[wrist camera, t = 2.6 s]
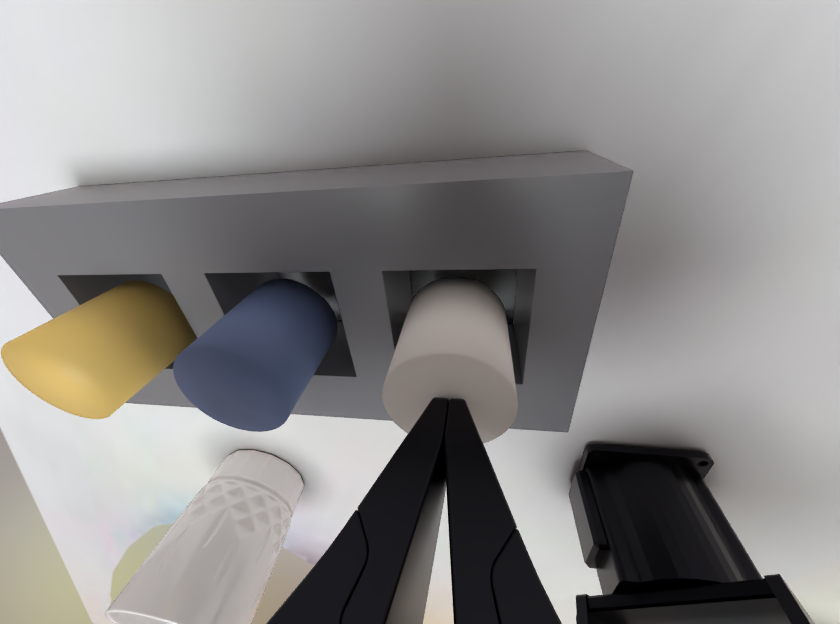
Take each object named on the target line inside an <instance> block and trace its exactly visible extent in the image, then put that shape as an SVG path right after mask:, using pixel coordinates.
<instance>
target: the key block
mask: <svg viewBox="0 0 840 624" xmlns="http://www.w3.org/2000/svg"><path fill="white" fill-rule="evenodd" d="M632 174H633V171H632V170H630V169H628V168H626V167H623V166H621V165H619V164H617V163H614V162H612V161H610V160H608V159H605V158H603V157H601V156H599V155H596V154H594V153H592V152H590V151H572V152H558V153H544V154H530V155H516V156H502V157H488V158H474V159H460V160H445V161H431V162H417V163H403V164H389V165H375V166H361V167H347V168H333V169H319V170H304V171H290V172H276V173H262V174H248V175H234V176H220V177H206V178H192V179H178V180H163V181H149V182H135V183H121V184H107V185H93V186H79V187H73V188H69V189H64V190H59V191H55V192H50V193H45V194H40V195H36V196H31V197H26V198H22V199H17V200H12V201H8V202H3V203H0V255H1V256H2V257H3V259H4V260H5V261H6V262H7V263H8V265H9V266H10V267H11V268H12V269H13V271H14V272H15V273H16V274H17V276H18V277H19V278H20V279H21V280H22V282H23V283H24V284H25V285H26V286H27V288H28V289H29V290H30V291H31V292H32V294H33V295H34V296H35V297H36V298H37V300H38V301H39V302H40V303H41V304H42V306H43V307H44V308H45V309H46V310H47V312H48V313H49V314H50V315H51V316H52V318H53V319H54V318H56V317H58V316H60V315H62V314H64V313H66V312H68V311H70V310H72V309H74V308H76V307H78V306H80V305H81V304H83V303H85V302H87V301H89V300H91V299H93V298H95V297H97V296H99V295H101V294H103V293H105V292H107V291H109V290H111V289H113V288H115V287H116V286H118V285H120V284H122V283H124V282H127V281H132V280H139V281H145V282H149V283H152V284H154V285H157V286H159V287H161V288H163V289H164V290H166V291H168V292H169V293H171V294H172V295H173V296H174V297H175V299H176V301H177V303H178V304H179V306H180V308H181V310H182V311H183V313H184V315H185V317H186V318H187V320H188V322H189V324H190V326H191V327H192V329H193V331H194V333H195V334H196V336H197V338H198V337H200V336H201V335H202V334H203V333H204V332H205V331H207V330H208V329H209V328H210V327H211V326H213V325H214V324H215V323H216V322H217V321H218V320H220V319H221V318H222V317H223V316H224V315H226V314H227V313H228V312H229V311H230V310H231V309H233V308H234V307H235V306H236V305H237V304H239V303H240V302H241V301H242V300H243V299H244V298H246V297H247V296H248V295H249V294H250V293H251V292H253V291H254V290H255V289H256V288H257V287H259V286H260V285H261V284H263V283H264V282H267V281H269V280H273V279H280V277H279V274H278V272H330V275H331V279H332V283H333V287H334V290H335V294H336V298H337V302H338V306H339V310H340V314H341V318H342V322H337V335H336V338H335V340H334V341H333V343H332V345H331V346H330V348H329V350H328V351H327V353H326V355H325V357H324V358H323V360H322V362H321V363H320V365H319V367H318V368H317V370H316V372H315V373H314V375H313V377H312V378H311V380H310V382H309V383H308V385H307V387H306V388H305V390H304V392H303V393H302V395H301V397H300V398H299V400H298V402H297V403H296V405H295V407H294V408H293V410H292V412H291V413H290V414H300V415H315V416H330V417H345V418H360V419H375V420H390V421H393V420H392V419H391V418H390V416H389V415H388V413H387V411H386V409H385V407H384V403H383V398H382V391H383V386H384V382H385V379H386V376H387V373H388V370H389V367H390V364H391V361H392V358H393V355H394V352H395V349H396V346H397V343H398V340H399V337H400V334H401V331H402V328H403V325H404V322H405V319H406V315H407V312H408V309H409V306H410V304H411V301H412V291H411V282H410V274H409V270H478V269H518V272H517V284H516V296H515V308H514V319H513V324H507V326H508V334H509V341H510V348H511V356H512V363H513V370H514V378H515V385H516V392H517V400H518V411H517V415H516V417H515V420H514V422H513V423H512V425H511V426H510V427H509V428H511V429H526V430H541V431H556V432H568V431H569V427H570V423H571V419H572V415H573V411H574V407H575V403H576V399H577V395H578V391H579V387H580V383H581V379H582V375H583V370H584V366H585V362H586V358H587V354H588V350H589V346H590V342H591V338H592V334H593V330H594V326H595V322H596V318H597V314H598V310H599V306H600V302H601V298H602V294H603V290H604V286H605V282H606V278H607V274H608V270H609V266H610V262H611V258H612V254H613V250H614V246H615V242H616V238H617V234H618V230H619V226H620V222H621V218H622V214H623V210H624V206H625V202H626V198H627V194H628V190H629V186H630V182H631V178H632ZM174 361H175V360H174ZM174 361H173V362H172V363H171V364H170V365H169V366H167V367H166V368H165V369H164V370H163V371H162V372H160V373H159V374H158V375H157V376H156V377H155V378H153V379H152V380H151V381H150V382H149V383H148V384H146V385H145V386H144V387H143V388H142V389H141V390H139V391H138V392H137V393H136V394H135V395H134V396H132V397H131V398H130V399H129V400H128V401H127V402H125V403H135V404H150V405H165V406H180V407H195V408H197V407H196V406H195V405H194V404H192V403H191V402H190V401H189V400H188V399H187V397H186V396H185V395H184V394H183V393H182V391H181V390H180V388H179V386H178V385H177V383H176V380H175V378H174V374H173V364H174Z"/></svg>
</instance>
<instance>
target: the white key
mask: <svg viewBox="0 0 840 624" xmlns="http://www.w3.org/2000/svg"><path fill="white" fill-rule="evenodd" d="M434 397H442V398H448V399H450V398H460V399H464V400H465V401H466V403H467V406H468V408H469V410H470V413H471V415H472V418H473V420H474V423H475V425H476V428H477V430H478V433H479V435H480V437H481V440H482V442H483V443H486V442H489V441H491V440H493V439H495V438H497V437H499V436H500V435H502V434H503V433H504V432H505V431H506V430H507V429H508V428H509V427H510V426H511V425H512V423H513V422H514V420H515V417H516V415H517V411H518V400H517V392H516V385H515V378H514V370H513V363H512V356H511V348H510V341H509V334H508V326H507V319H506V313H505V309H504V306H503V304H502V302H501V300H500V299H499V297H498V296H497V295H496V294H495V293H494V292H493V291H492V290H491V289H490V288H489V287H487V286H486V285H484V284H482V283H480V282H478V281H475V280H472V279H468V278H463V277H448V278H443V279H439V280H436V281H433V282H431V283H429V284H427V285H426V286H424V287H423V288H422V289H421V290H419V291H418V293H417V294H416V295H415V296H414V298H413V299H412V301H411V304H410V306H409V309H408V312H407V315H406V319H405V322H404V325H403V328H402V331H401V334H400V337H399V340H398V343H397V346H396V349H395V352H394V355H393V358H392V361H391V364H390V367H389V370H388V373H387V376H386V379H385V382H384V386H383V391H382V398H383V403H384V407H385V409H386V411H387V413H388V415H389V416H390V418H391V419H392V420H393V421H394V422H395V423H396V424H397V425H398V426H399V427H400V428H401V429H403V430H404V431H405V432H407V433H409V432H410V430H411V429H412V427H413V426H414V425H415V423H416V422H417V420H418V419H419V417H420V416H421V414H422V413H423V411H424V410H425V409H426V407H427V406H428V404H429V403H430V401H431V400H432V399H433V398H434Z"/></svg>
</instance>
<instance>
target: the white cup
mask: <svg viewBox="0 0 840 624" xmlns="http://www.w3.org/2000/svg"><path fill="white" fill-rule="evenodd" d="M303 487H304V484H303V481H302V478H301V476H300V474H299V473H298V472H297V471H296V470H295V469H294V468H293V467H292V466H291V465H290V464H288V463H286V462H284V461H283V460H281V459H279V458H277V457H275V456H273V455H270V454H267V453H263V452H259V451H255V450H238V451H236V452H234V453H232V454H230V455H228V456H227V457H226V458H225V460H224V461H223V462H222V464H221V465H220V466H219V468H218V469H217V470H216V472H215V473H214V474H213V476H212V477H211V478H210V480H209V481H208V483H207V484H206V485H205V486H204V487H203V488H202V489H201V490H200V491H199V492H198V493H197V494H196V496H195V497H194V498H193V499H192V501H191V502H190V504H189V505H188V507H187V508H186V509H185V510H184V511H183V513H182V514H181V515H180V516H179V517H178V518H177V520H176V521H175V522H174V523H173V525H172V526H171V527H170V529H169V530H168V531H167V532H166V534H165V535H164V536H163V538H162V539H161V540H160V542H159V543H158V544H157V546H156V547H155V548H154V549H153V551H152V552H151V553H150V555H149V556H148V557H147V559H146V560H145V561H144V562H143V564H142V565H141V566H140V568H139V569H138V571H137V572H136V573H135V574H134V575H133V577H132V578H131V579H130V581H129V582H128V583H127V585H126V586H125V587H124V588H123V590H122V591H121V592H120V594H119V595H118V596H117V598H116V599H115V600H114V601H113V603H112V604H111V605H110V606H109V608H108V609H107V610H106V612H105V616H106V617H107V618H108V619H109V620H110V621H111V622H113V623H114V624H252V622H253V619H254V616H255V614H256V611H257V609H258V606H259V604H260V601H261V599H262V596H263V594H264V591H265V589H266V586H267V584H268V581H269V579H270V576H271V574H272V571H273V569H274V566H275V564H276V561H277V558H278V556H279V553H280V551H281V548H282V545H283V542H284V540H285V537H286V533H287V531H288V529H289V526H290V520H291V517H292V515H293V512H294V509H295V507H296V504H297V502H298V500H299V497H300V495H301V492H302V490H303Z"/></svg>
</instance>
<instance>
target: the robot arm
mask: <svg viewBox="0 0 840 624" xmlns="http://www.w3.org/2000/svg"><path fill="white" fill-rule="evenodd" d="M713 464H714V462H713V460H712V459H711V457H710V456H709V454H708V453H706V452H698V451H684V450H670V449H656V448H642V447H628V446H614V445H600V444H592V445H589V446H587V447H586V449H585V451H584V455H583V458H582V461H581V464H580V468H579V470H577V471H576V473H575V474H574V477H573V481H572V484H571V488H570V491H569V498H570V502H571V506H572V510H573V515H574V519H575V523H576V528H577V532H578V536H579V540H580V545H581V549H582V553H583V558H584V562H585V563H586V564H587V566H588V567H589V568H595V569H597V573H598V577H599V581H600V585H601V589H602V593H603V595H597V596H588V595H587V594H584V595H576V607H577V615H576V621H577V624H814V622H813V621H812V619H811V618H810V616H809V615H808V613H807V612H806V610H805V609H804V608H803V606H802V605H801V603H800V602H799V601H798V599H797V598H796V597H795V595H794V594H793V592H792V591H791V590H790V588H789V587H788V585H787V584H786V583H785V581H784V580H783V578H782V577H781V576H780V574H776V575H766V576H764V577H765V579H763V578H762V577H761V575H760V573H759V572H758V570H757V568H756V567H755V565H754V563H753V562H752V560H751V558H750V557H749V555H748V553H747V552H746V550H745V548H744V547H743V545H742V543H741V542H740V540H739V538H738V537H737V535H736V533H735V532H734V530H733V528H732V527H731V525H730V523H729V522H728V520H727V518H726V517H725V515H724V513H723V512H722V510H721V508H720V507H719V505H718V503H717V502H716V500H715V498H714V497H713V495H712V493H711V492H710V490H709V488H708V487H707V485H706V483H705V482H704V480H703V479H704V477H705V476H706V474H707V473H708V471H709V470H710V469H711V467H712V466H713ZM446 487H447V505H448V523H449V541H450V559H451V577H452V595H453V613H454V624H562V623H561V621H560V619H559V617H558V615H557V614H556V612H555V610H554V608H553V606H552V604H551V601H550V599H549V597H548V595H547V593H546V591H545V589H544V587H543V585H542V583H541V581H540V579H539V577H538V575H537V572H536V570H535V568H534V566H533V563H532V561H531V559H530V557H529V554H528V552H527V550H526V547H525V545H524V542H523V540H522V538H521V535H520V533H519V530H517V529H516V528H517V526H516V523H515V521H514V518H513V516H512V514H511V511H510V509H509V506H508V504H507V501H506V499H505V496H504V494H503V491H502V489H501V487H500V484H499V482H498V479H497V477H496V474H495V472H494V469H493V467H492V464H491V462H490V460H489V457H488V455H487V452H486V450H485V447H484V445H483V442H482V440H481V437H480V435H479V433H478V430H477V428H476V425H475V423H474V420H473V418H472V415H471V413H470V410H469V408H468V406H467V403H466V401H465V400H464V399H460V398H450V399H448V398H442V397H434V398H433V399H432V400H431V401H430V403H429V404H428V406H427V407H426V409H425V410H424V411H423V413H422V414H421V416H420V417H419V419H418V420H417V422H416V423H415V425H414V426H413V427H412V429H411V430H410V432H409V433H408V435H407V436H406V438H405V439H404V441H403V442H402V443H401V445H400V446H399V448H398V449H397V451H396V452H395V454H394V455H393V457H392V458H391V460H390V461H389V462H388V464H387V465H386V467H385V468H384V470H383V471H382V473H381V474H380V476H379V477H378V478H377V480H376V481H375V483H374V484H373V486H372V487H371V489H370V490H369V492H368V493H367V495H366V496H365V497H364V499H363V500H362V502H361V503H360V505H359V506H358V510H356V511H355V512H354V513H353V515H352V516H351V518H350V519H349V521H348V522H347V523H346V525H345V526H344V528H343V529H342V530H341V532H340V533H339V535H338V536H337V537H336V539H335V540H334V541H333V543H332V544H331V546H330V547H329V548H328V550H327V551H326V552H325V553H324V555H323V556H322V557H321V558H320V560H319V561H318V562H317V563H316V565H315V566H314V567H313V568H312V570H311V571H310V572H309V573H308V575H307V576H306V577H305V578H304V579H303V581H302V582H301V583H300V584H299V585H298V587H297V588H296V589H295V590H294V591H293V592H292V594H291V595H290V596H289V597H288V598H287V600H286V601H285V602H284V603H283V605H282V606H281V607H280V608H279V609H278V610H277V612H276V613H275V614H274V615H273V617H272V618H271V619H270V620H269V621H268V622H267V624H423V619H424V613H425V607H426V601H427V596H428V590H429V584H430V578H431V572H432V567H433V561H434V555H435V549H436V543H437V538H438V532H439V526H440V520H441V514H442V509H443V503H444V497H445V491H446Z"/></svg>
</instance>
